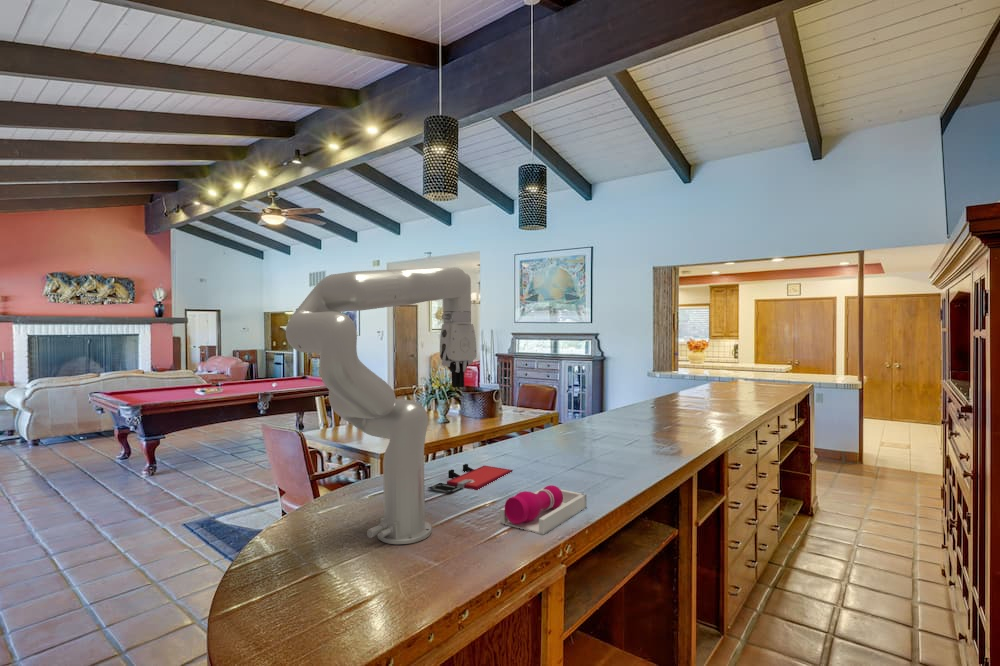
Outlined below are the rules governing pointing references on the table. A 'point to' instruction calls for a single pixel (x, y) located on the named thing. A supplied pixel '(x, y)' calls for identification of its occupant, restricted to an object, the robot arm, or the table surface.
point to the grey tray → (551, 514)
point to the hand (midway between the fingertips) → (457, 386)
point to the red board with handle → (471, 478)
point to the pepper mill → (532, 504)
